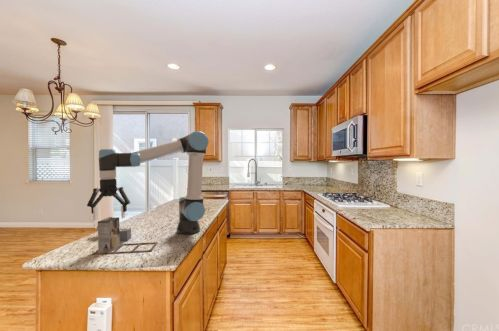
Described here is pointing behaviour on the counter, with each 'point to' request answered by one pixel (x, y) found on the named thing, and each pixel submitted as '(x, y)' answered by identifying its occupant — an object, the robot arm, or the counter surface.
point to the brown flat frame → (128, 251)
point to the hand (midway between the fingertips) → (109, 218)
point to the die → (125, 234)
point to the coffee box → (108, 235)
